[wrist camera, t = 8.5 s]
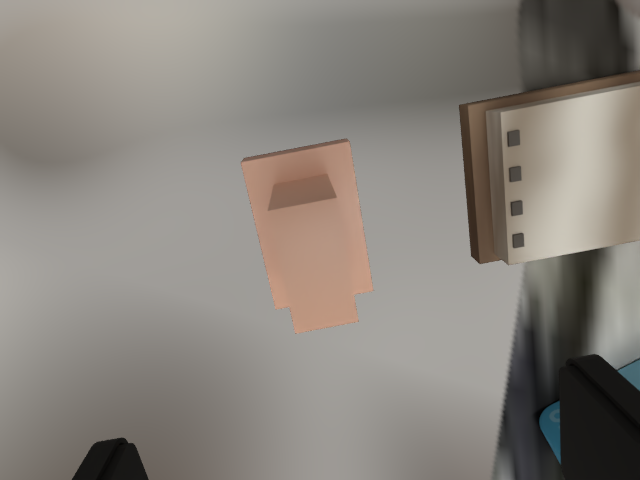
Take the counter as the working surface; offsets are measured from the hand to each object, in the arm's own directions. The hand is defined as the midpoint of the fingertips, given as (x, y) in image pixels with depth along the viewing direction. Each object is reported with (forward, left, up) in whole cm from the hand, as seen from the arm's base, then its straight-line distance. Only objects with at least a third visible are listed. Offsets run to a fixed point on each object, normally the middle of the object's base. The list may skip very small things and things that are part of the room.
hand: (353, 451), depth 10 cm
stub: (0, 0, -19) cm, 19 cm away
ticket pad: (-19, 0, -20) cm, 28 cm away
